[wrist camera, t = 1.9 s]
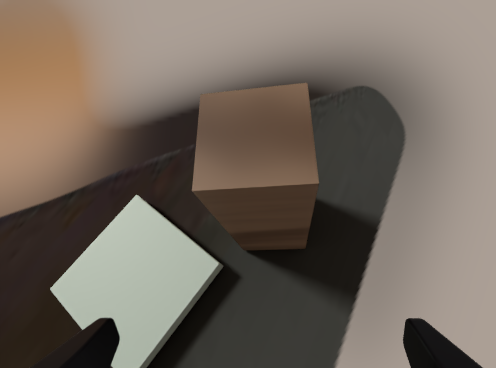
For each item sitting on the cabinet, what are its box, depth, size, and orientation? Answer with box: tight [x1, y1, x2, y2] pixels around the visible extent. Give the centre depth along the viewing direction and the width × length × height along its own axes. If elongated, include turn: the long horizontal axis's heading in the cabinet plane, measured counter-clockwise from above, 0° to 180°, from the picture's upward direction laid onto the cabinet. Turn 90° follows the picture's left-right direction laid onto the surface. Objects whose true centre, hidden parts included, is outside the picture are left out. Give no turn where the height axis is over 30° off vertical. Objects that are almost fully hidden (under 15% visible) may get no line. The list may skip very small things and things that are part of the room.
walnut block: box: [192, 83, 319, 250], centre depth 18 cm, size 5×5×13 cm
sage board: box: [50, 195, 223, 368], centre depth 23 cm, size 10×10×2 cm
